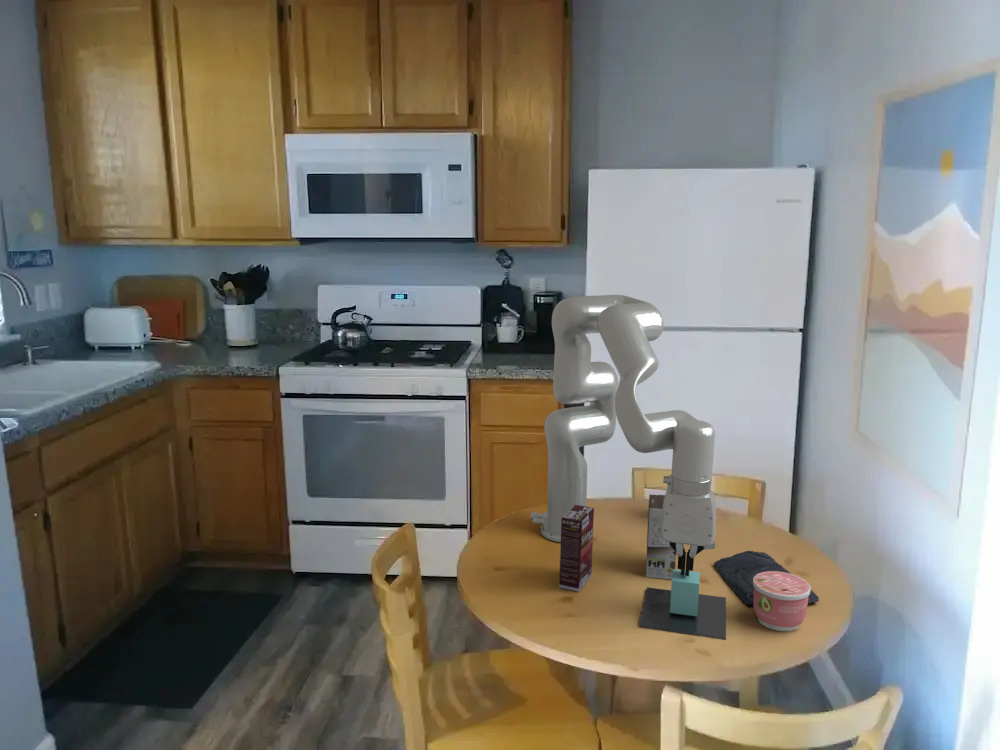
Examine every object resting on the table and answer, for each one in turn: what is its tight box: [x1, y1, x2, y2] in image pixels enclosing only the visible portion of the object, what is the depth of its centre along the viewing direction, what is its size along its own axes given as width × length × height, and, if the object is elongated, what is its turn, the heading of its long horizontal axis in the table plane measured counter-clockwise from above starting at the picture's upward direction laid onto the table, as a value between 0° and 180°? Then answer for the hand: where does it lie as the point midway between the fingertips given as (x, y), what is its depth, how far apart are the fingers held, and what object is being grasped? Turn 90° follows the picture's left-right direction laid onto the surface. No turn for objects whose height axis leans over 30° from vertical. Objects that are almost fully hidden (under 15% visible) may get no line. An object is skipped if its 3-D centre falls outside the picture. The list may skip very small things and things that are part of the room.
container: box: [752, 571, 812, 632], centre depth 152 cm, size 10×10×8 cm
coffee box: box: [645, 494, 677, 581], centre depth 173 cm, size 9×6×16 cm
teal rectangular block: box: [670, 568, 701, 616], centre depth 155 cm, size 5×5×7 cm
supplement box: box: [558, 505, 595, 593], centre depth 167 cm, size 9×5×16 cm, turn 155°
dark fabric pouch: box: [713, 550, 820, 607], centre depth 167 cm, size 15×22×5 cm
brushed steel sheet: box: [638, 586, 727, 640], centre depth 155 cm, size 16×16×7 cm
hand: (685, 572), depth 155 cm, fingers closed
